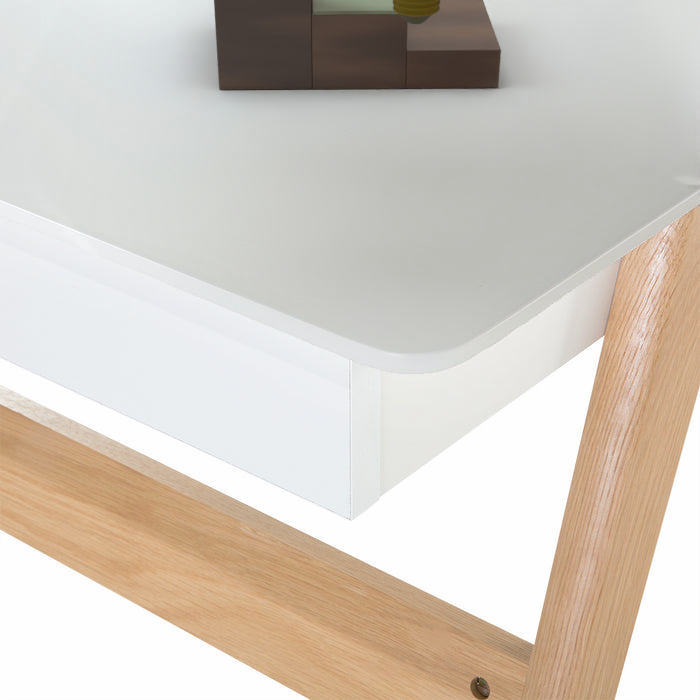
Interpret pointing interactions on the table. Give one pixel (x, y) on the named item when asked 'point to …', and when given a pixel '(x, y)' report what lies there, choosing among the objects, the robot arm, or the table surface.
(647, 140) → the table surface
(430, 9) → the light bulb
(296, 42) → the stepped wooden block
